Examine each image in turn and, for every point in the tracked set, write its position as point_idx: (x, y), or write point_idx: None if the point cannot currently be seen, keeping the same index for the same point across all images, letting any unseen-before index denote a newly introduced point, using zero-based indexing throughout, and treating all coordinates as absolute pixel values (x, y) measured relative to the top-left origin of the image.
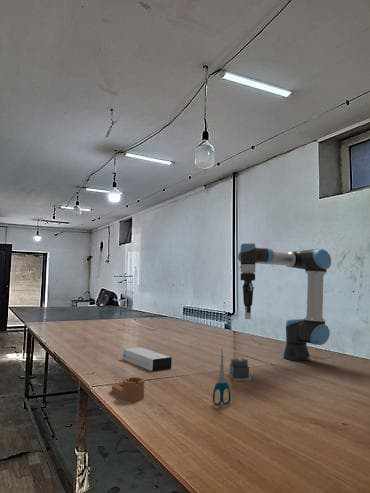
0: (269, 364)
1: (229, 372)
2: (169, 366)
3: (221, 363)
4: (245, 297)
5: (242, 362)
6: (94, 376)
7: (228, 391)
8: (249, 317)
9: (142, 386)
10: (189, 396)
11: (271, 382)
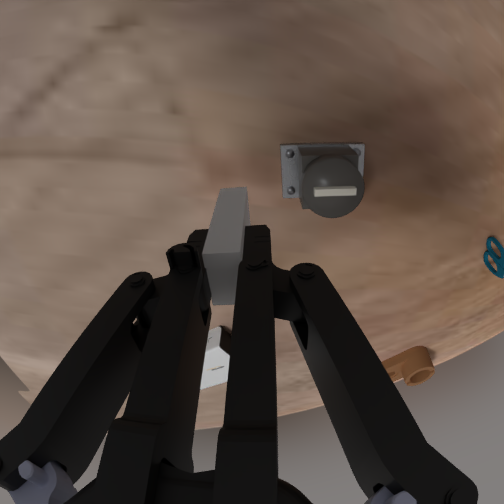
0: (123, 33)
1: (287, 195)
2: (224, 332)
3: None
4: (197, 388)
5: (363, 184)
6: (290, 405)
7: (499, 248)
8: (247, 205)
9: (430, 361)
10: (438, 293)
11: (383, 85)
